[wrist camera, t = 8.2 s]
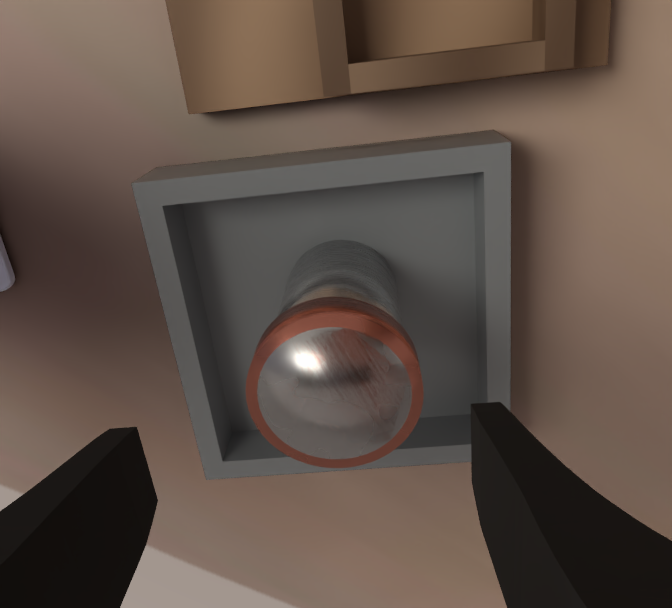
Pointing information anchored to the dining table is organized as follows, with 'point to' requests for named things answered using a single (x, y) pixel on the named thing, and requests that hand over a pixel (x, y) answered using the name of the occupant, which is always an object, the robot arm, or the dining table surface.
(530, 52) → the board
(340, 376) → the pin
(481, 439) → the robot arm
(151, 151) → the dining table surface
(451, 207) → the tray
